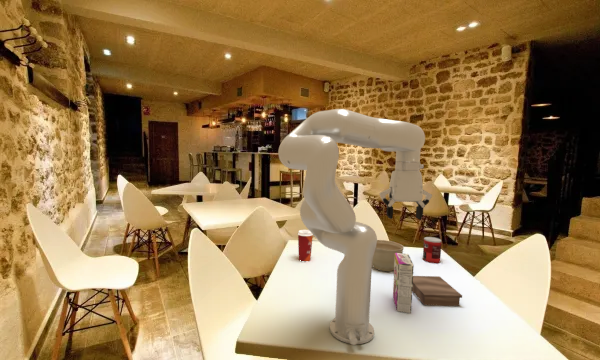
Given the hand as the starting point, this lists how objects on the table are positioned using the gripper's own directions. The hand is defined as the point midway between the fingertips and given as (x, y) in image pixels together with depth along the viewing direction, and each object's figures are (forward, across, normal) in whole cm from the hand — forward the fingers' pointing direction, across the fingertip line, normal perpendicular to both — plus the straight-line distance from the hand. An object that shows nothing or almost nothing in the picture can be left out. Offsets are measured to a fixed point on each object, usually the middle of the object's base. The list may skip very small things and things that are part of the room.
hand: (404, 218), depth 99 cm
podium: (+30, -14, -7) cm, 34 cm away
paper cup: (+30, +32, -42) cm, 60 cm away
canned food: (+30, -32, -44) cm, 62 cm away
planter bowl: (+30, -4, -34) cm, 45 cm away
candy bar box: (+30, 0, 0) cm, 30 cm away
